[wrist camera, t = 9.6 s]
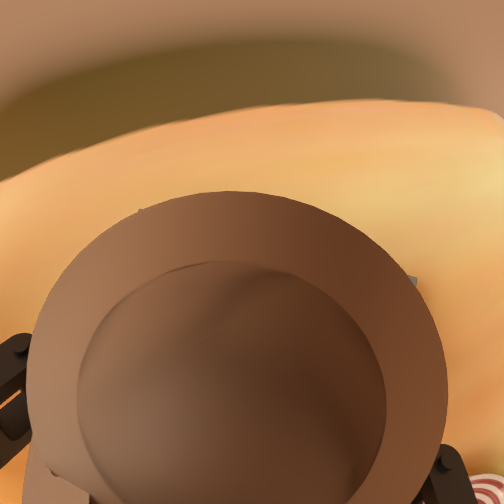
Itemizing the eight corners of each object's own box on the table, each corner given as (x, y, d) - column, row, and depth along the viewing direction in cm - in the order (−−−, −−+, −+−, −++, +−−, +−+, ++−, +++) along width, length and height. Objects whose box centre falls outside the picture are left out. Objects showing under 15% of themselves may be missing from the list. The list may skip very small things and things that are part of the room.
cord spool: (165, 414, 13) (14, 489, 3) (199, 293, 15) (101, 162, 5) (293, 449, 12) (364, 592, 2) (326, 325, 15) (467, 250, 4)
